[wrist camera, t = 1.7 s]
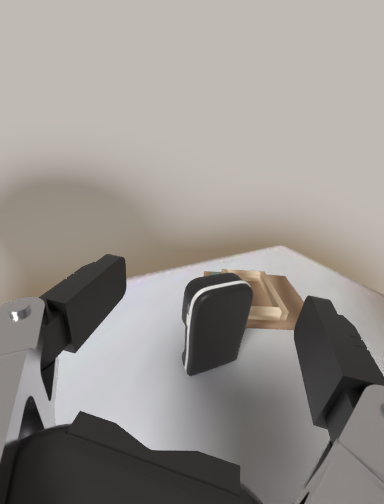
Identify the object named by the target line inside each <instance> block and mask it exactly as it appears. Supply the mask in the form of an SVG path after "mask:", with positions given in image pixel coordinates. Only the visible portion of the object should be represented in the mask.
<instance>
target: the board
mask: <svg viewBox="0 0 384 504" xmlns="http://www.w3.org/2000/svg"><path fill="white" fill-rule="evenodd" d="M221 273H235V274H236V275H238V276H239V277H240V278H241V279H242V280H243V281H245V282H247V283H248V284H249V285H250V287H251V288H252V291H253V300H252V304H251V309H250V313H249V316H248V320H247V324H246V327H245V328H264V329H288V330H294V329H295V324H296V322H297V319H298V317H299V314H300V312H301V309H302V307H303V304H304V302H303V300H302V299H301V298H300V296H299V295H298V293H297V292H296V291H295V289H294V288H293V287H292V285H291V284H290V282H289V281H288V280H287V278H286V277H285V276H276V275H266V274H265V272H261V271H244V270H227V269H222V272H206V271H204V276H209V275H215V274H221Z"/></svg>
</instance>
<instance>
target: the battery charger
mask: <svg viewBox="0 0 384 504" xmlns="http://www.w3.org/2000/svg"><path fill="white" fill-rule="evenodd" d="M252 300H253V291H252V288H251V287H250V285H249V284H248V283H247V282H245V281H243V280H242V279H241V278H240V277H239V276H238V275H236V274H235V273H221V274H215V275H209V276H204V277H199V278H196V279H193V280H192V281H190V282H189V283H188V285H187V286H186V288H185V292H184V299H183V308H182V320H183V322H184V324H185V326H186V329H185V349H184V352H183V354H182V361H183V365H184V369H185V371H186V372H187V374H188V375H189V376H192V375H195V374H198V373H201V372H204V371H207V370H209V369H212V368H215V367H218V366H220V365H223V364H226V363H228V362H231V361H233V360H236V359H237V355H238V351H239V347H240V343H241V340H242V337H243V333H244V330H245V327H246V324H247V320H248V316H249V313H250V309H251V304H252Z"/></svg>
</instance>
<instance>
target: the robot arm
mask: <svg viewBox="0 0 384 504" xmlns="http://www.w3.org/2000/svg"><path fill="white" fill-rule="evenodd" d="M125 291H126V264H125V259H124V258H123V257H120V256H115V255H110V254H106V255H105V256H103V257H102V258H101V259H99V260H98V261H97V262H93V263H91V264H88V265H85V266H83V267H81V268H80V269H79V270H77V271H76V272H75V273H74V274H71V275H70V276H69V277H67V279H64V280H63V281H62V282H60V283H59V284H58V285H56V286H54V287H53V288H52V289H50V290H49V291H47V292H46V293H45V294H43V295H42V296H41V297H39V298H37V297H24V298H19V299H15V300H12V301H10V302H8V303H6V304H4V305H2V306H1V307H0V504H263V503H262V502H261V501H260V500H259V498H258V497H257V496H256V495H255V494H253V493H252V492H251V491H250V490H249V489H248V488H247V487H246V486H244V485H243V484H242V483H240V466H239V465H236V464H233V463H230V462H228V461H225V460H222V459H219V458H216V457H213V456H210V455H207V454H204V453H201V452H198V451H157V450H151V449H148V448H147V447H145V446H144V445H143V444H142V443H140V442H139V441H138V440H137V439H135V438H134V437H133V436H131V435H130V434H129V433H128V432H126V431H125V430H124V429H122V428H121V427H120V426H119V425H117V424H116V423H114V422H111V421H108V420H105V419H102V418H99V417H96V416H93V415H90V414H87V413H85V412H82V411H80V412H79V413H78V415H77V416H76V418H75V420H74V421H73V423H72V424H64V425H58V426H56V424H55V413H54V409H55V396H56V386H57V375H58V364H59V359H58V355H59V354H60V353H61V352H62V351H63V350H65V351H68V352H72V353H76V352H77V351H78V349H79V348H80V347H81V346H82V345H83V344H84V342H85V341H86V340H87V339H88V338H89V336H90V335H91V334H92V333H93V332H94V331H95V329H96V328H97V327H98V326H99V325H100V324H101V322H102V321H103V320H104V319H105V318H106V317H107V315H108V314H109V313H110V312H111V311H112V310H113V308H114V307H115V306H116V305H117V304H118V303H119V301H120V300H121V299H122V298H123V296H124V294H125ZM294 341H295V345H296V350H297V354H298V359H299V363H300V367H301V372H302V376H303V381H304V385H305V389H306V394H307V398H308V403H309V407H310V412H311V416H312V420H313V425H315V426H318V427H322V428H325V429H328V431H329V435H330V440H329V442H328V443H327V445H326V447H325V448H324V450H323V452H322V454H321V456H320V457H319V459H318V461H317V463H316V465H315V466H314V468H313V470H312V472H311V473H310V475H309V477H308V479H307V481H306V482H305V484H304V486H303V488H302V490H301V491H300V493H299V495H298V496H297V498H296V500H295V501H294V503H293V504H384V376H383V375H382V373H381V371H380V369H379V368H378V366H377V364H376V363H375V361H374V359H373V357H372V356H371V354H370V352H369V350H367V347H366V345H365V344H364V342H363V340H361V337H360V335H359V333H358V332H357V330H356V328H355V326H354V325H352V324H351V323H350V322H349V321H348V320H347V319H346V318H345V317H344V316H343V315H338V314H337V312H336V310H335V308H334V306H333V304H332V302H331V301H330V300H328V299H323V298H318V297H314V296H307V298H306V299H305V301H304V304H303V307H302V309H301V312H300V314H299V317H298V319H297V322H296V324H295V329H294Z"/></svg>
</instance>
